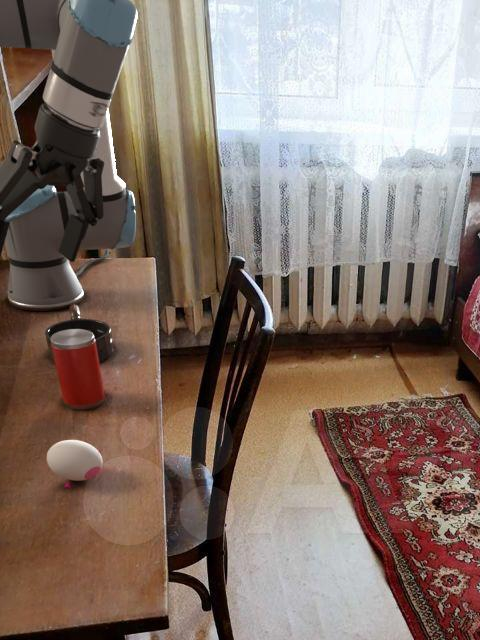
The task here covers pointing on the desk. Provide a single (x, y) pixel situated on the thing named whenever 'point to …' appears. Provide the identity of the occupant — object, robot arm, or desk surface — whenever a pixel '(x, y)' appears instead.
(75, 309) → the skillet handle
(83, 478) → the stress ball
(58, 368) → the tomato can
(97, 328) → the skillet
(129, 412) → the desk surface
